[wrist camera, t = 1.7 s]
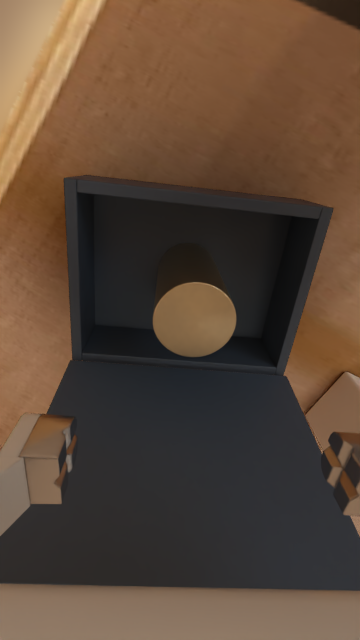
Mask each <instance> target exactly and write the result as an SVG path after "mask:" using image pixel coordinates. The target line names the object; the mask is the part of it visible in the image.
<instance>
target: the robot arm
mask: <svg viewBox="0 0 360 640" xmlns="http://www.w3.org/2000/svg"><path fill="white" fill-rule="evenodd" d="M76 428H77V418H76V417H75V416H63V415H51V414H35V413H24V414H23V415H22V416H21V417H20V419H19V420H18V422H17V424H16V425H15V427H14V429H13V430H12V432H11V434H10V435H9V437H8V439H7V440H6V442H5V444H4V445H3V447H2V449H1V450H0V536H1V535H2V534H3V533H4V532H5V531H6V530H7V529H8V528H9V527H10V526H11V525H12V524H13V523H14V522H15V521H16V520H17V519H18V518H19V517H20V516H21V515H22V514H23V513H24V512H25V511H26V510H27V509H28V508H29V507H30V504H62V501H63V498H64V495H65V492H66V489H67V486H68V473H69V472H70V471H71V470H73V467H74V463H75V460H76V454H77V447H78V437H77V436H76V435H75V431H76ZM328 442H329V444H330V446H329V447H328V448H326V449H325V450H324V451H323V454H322V456H321V469H322V473H323V475H324V477H325V479H326V481H327V482H328V483H329V484H330V485H331V486H333V487H334V492H333V496H334V497H335V499H336V501H337V503H338V505H339V507H340V509H341V511H342V513H343V515H349V516H360V433H351V432H333V433H332V434H330V437H329V439H328ZM0 640H360V591H349V590H300V589H249V588H196V587H145V586H95V585H45V584H0Z"/></svg>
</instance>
